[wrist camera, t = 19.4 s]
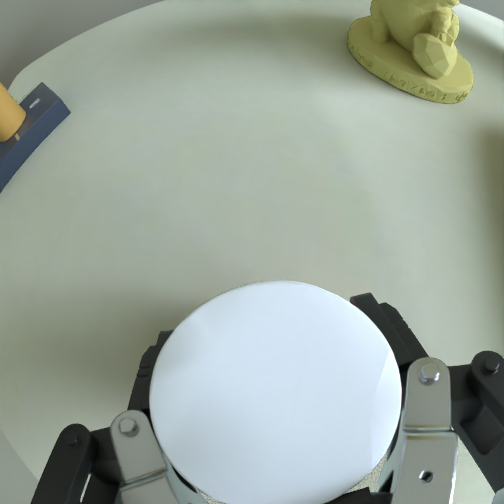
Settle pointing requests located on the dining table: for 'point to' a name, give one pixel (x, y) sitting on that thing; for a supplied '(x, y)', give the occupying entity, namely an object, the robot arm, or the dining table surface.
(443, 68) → the figurine
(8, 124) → the tan cylinder
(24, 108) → the dial base block
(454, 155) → the dining table surface
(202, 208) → the dining table surface
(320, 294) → the pill bottle
